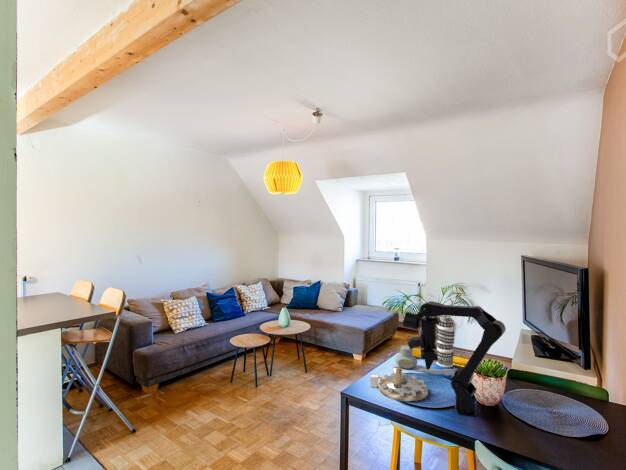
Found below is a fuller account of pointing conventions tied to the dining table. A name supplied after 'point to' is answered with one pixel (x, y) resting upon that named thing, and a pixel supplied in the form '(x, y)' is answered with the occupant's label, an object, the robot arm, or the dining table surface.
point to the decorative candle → (445, 342)
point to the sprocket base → (402, 398)
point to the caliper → (439, 371)
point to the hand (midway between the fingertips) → (427, 369)
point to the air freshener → (406, 358)
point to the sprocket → (402, 383)
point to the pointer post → (374, 380)
